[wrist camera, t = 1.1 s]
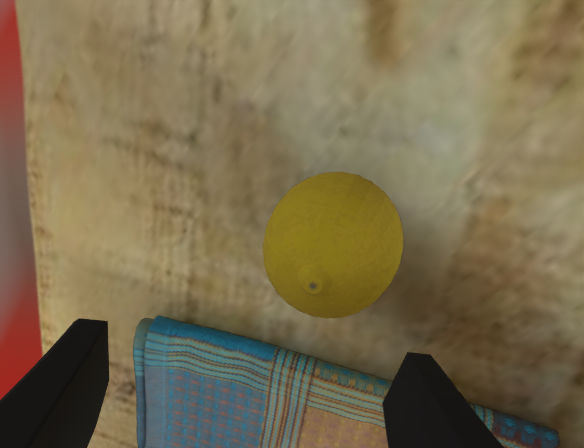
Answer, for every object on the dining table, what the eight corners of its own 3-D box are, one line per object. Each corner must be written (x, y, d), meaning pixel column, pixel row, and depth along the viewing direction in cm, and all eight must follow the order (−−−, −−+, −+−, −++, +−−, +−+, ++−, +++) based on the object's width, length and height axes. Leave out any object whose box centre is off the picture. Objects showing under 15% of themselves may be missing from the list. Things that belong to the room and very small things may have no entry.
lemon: (328, 278, 23) (286, 376, 16) (274, 188, 22) (203, 248, 15) (427, 235, 21) (430, 326, 14) (371, 134, 20) (343, 173, 13)
